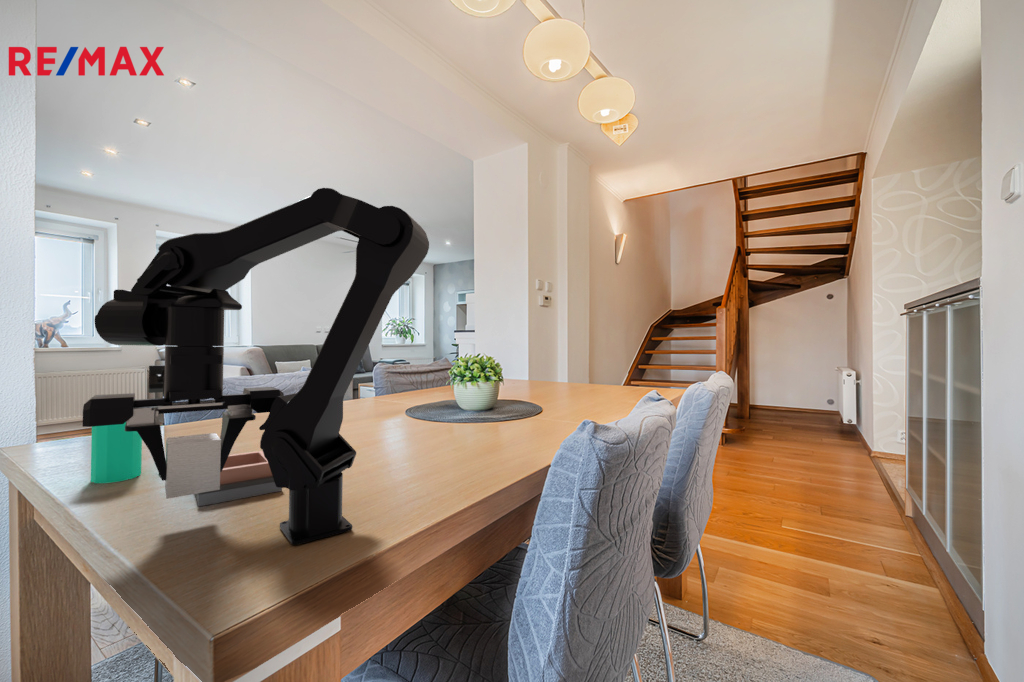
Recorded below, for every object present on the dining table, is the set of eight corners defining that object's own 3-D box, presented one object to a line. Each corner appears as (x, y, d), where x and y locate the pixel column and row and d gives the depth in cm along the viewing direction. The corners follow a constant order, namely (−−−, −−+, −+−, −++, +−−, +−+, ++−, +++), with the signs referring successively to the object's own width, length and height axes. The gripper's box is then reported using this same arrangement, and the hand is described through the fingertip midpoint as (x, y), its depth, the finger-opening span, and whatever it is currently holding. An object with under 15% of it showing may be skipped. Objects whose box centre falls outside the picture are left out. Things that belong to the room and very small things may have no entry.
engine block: (219, 489, 51) (220, 439, 51) (166, 498, 48) (167, 445, 48) (215, 479, 55) (215, 432, 55) (165, 487, 52) (166, 437, 52)
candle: (79, 482, 66) (81, 404, 66) (121, 470, 72) (123, 399, 72) (111, 484, 65) (113, 405, 65) (151, 473, 71) (152, 400, 71)
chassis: (281, 490, 63) (282, 463, 63) (198, 506, 57) (199, 476, 57) (265, 471, 72) (265, 448, 72) (191, 483, 66) (192, 457, 66)
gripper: (268, 346, 64) (266, 450, 64) (94, 345, 52) (91, 473, 52) (286, 347, 55) (284, 467, 55) (83, 346, 43) (80, 500, 43)
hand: (192, 475), depth 51 cm, fingers closed on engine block, 5 cm apart
